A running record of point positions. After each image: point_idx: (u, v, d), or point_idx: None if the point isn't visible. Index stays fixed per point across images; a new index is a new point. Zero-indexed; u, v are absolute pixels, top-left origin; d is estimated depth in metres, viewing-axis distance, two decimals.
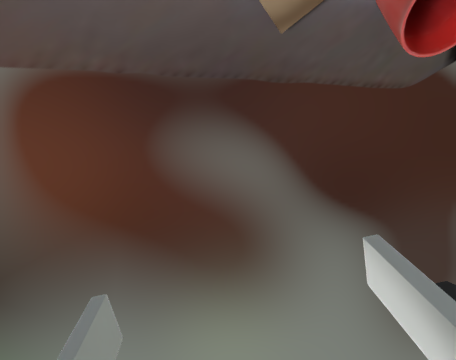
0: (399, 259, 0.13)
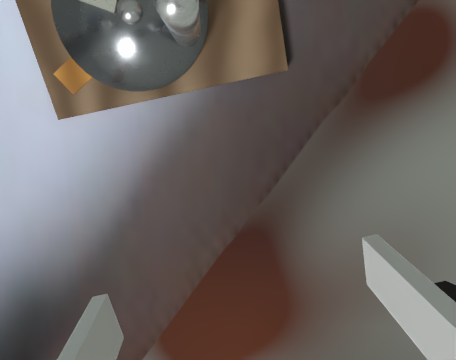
0: (398, 259, 0.13)
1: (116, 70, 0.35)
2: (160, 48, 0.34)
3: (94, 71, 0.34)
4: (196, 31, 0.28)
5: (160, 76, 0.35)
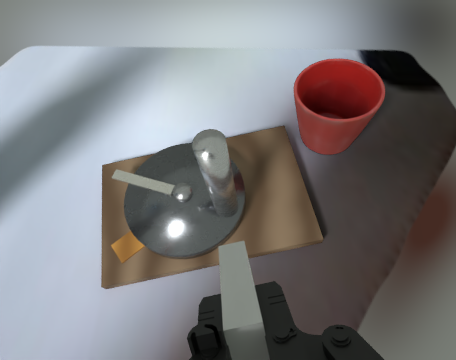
0: (244, 262, 0.16)
1: (162, 237, 0.39)
2: (203, 218, 0.40)
3: (144, 238, 0.39)
4: (230, 190, 0.34)
5: (200, 241, 0.38)
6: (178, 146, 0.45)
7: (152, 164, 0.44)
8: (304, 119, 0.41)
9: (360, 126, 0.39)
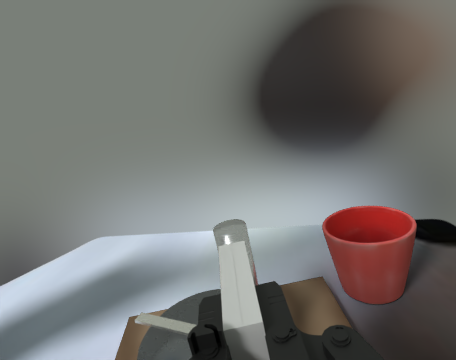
0: (244, 262, 0.16)
1: None
2: None
3: None
4: None
5: None
6: (209, 292, 0.43)
7: (180, 308, 0.41)
8: (338, 254, 0.39)
9: (400, 255, 0.36)
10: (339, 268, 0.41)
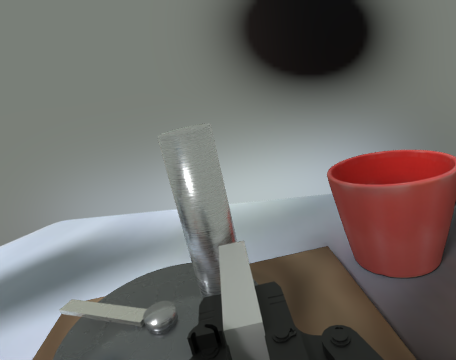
0: (243, 262, 0.16)
1: None
2: (189, 357, 0.20)
3: None
4: None
5: None
6: (170, 268, 0.31)
7: (127, 290, 0.29)
8: (350, 207, 0.28)
9: (441, 201, 0.25)
10: (352, 229, 0.30)
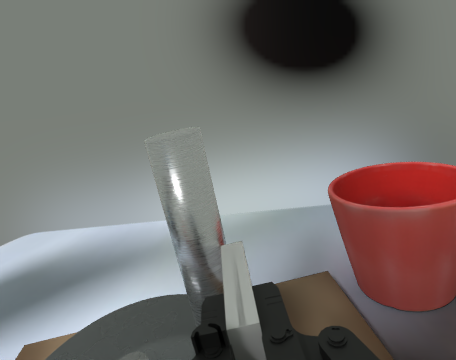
0: (241, 263, 0.16)
1: None
2: None
3: None
4: None
5: None
6: (83, 331, 0.25)
7: None
8: (357, 231, 0.24)
9: None
10: (357, 255, 0.26)
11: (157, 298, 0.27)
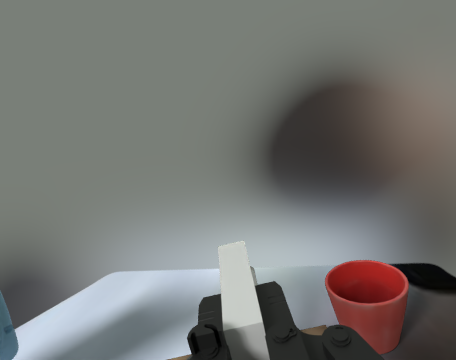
0: (244, 262, 0.16)
1: None
2: None
3: None
4: None
5: None
6: None
7: None
8: (339, 309, 0.44)
9: (394, 313, 0.41)
10: (340, 321, 0.46)
11: None
